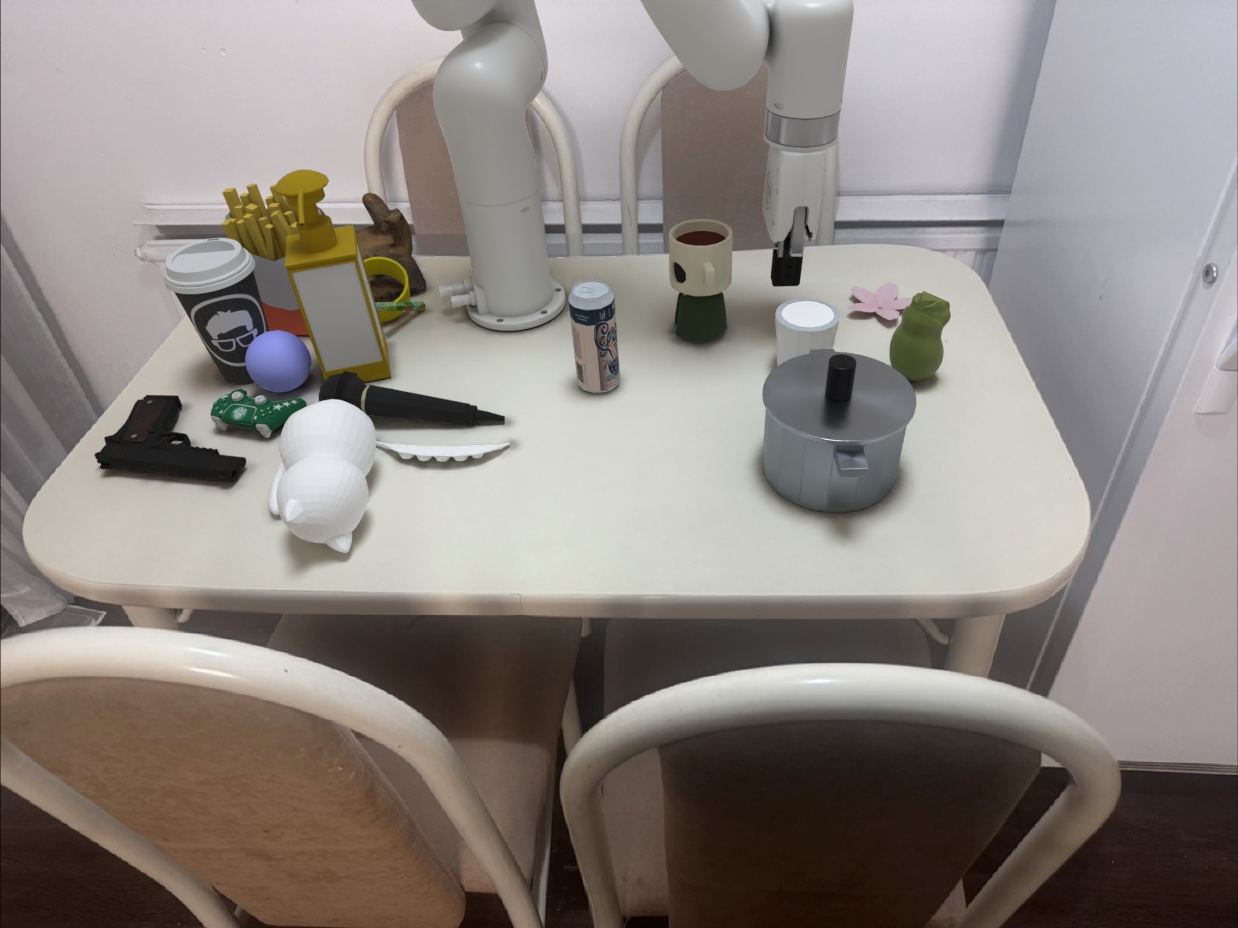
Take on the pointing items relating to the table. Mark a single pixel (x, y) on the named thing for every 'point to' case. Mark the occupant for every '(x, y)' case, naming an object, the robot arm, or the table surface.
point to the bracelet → (392, 269)
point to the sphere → (278, 361)
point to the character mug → (700, 277)
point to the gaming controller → (253, 411)
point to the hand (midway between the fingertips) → (784, 282)
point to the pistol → (163, 445)
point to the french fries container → (267, 251)
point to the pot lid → (839, 398)
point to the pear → (920, 337)
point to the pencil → (400, 306)
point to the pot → (829, 468)
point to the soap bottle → (332, 285)
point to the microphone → (399, 402)
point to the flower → (880, 301)
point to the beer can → (594, 336)
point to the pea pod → (442, 451)
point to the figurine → (388, 248)
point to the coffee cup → (219, 300)
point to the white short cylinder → (804, 327)
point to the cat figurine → (324, 472)
